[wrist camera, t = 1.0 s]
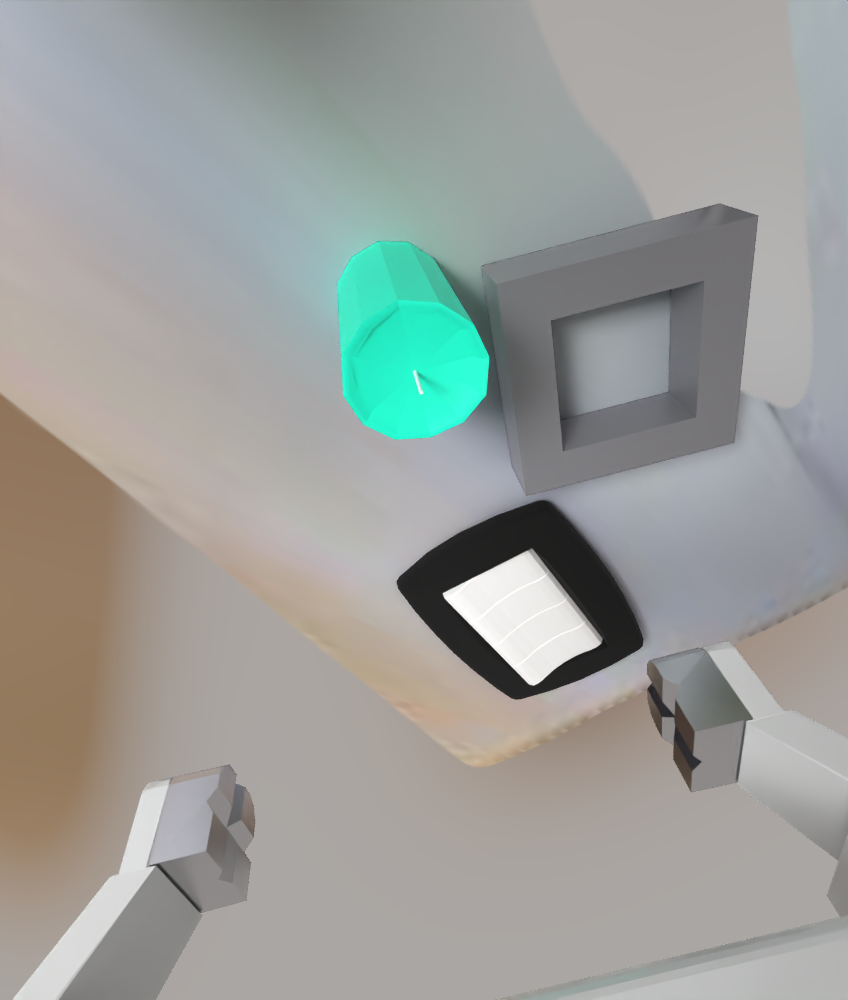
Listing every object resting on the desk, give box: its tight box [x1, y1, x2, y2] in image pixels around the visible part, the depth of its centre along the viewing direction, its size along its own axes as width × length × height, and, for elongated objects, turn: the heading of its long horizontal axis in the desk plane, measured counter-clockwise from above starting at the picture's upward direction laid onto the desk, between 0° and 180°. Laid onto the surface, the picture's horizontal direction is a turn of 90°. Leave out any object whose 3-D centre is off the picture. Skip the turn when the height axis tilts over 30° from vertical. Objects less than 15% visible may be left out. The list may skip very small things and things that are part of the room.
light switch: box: [397, 501, 643, 700], centre depth 47 cm, size 20×3×14 cm
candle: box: [337, 241, 490, 440], centre depth 28 cm, size 6×6×12 cm
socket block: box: [481, 204, 758, 496], centre depth 34 cm, size 13×13×4 cm
